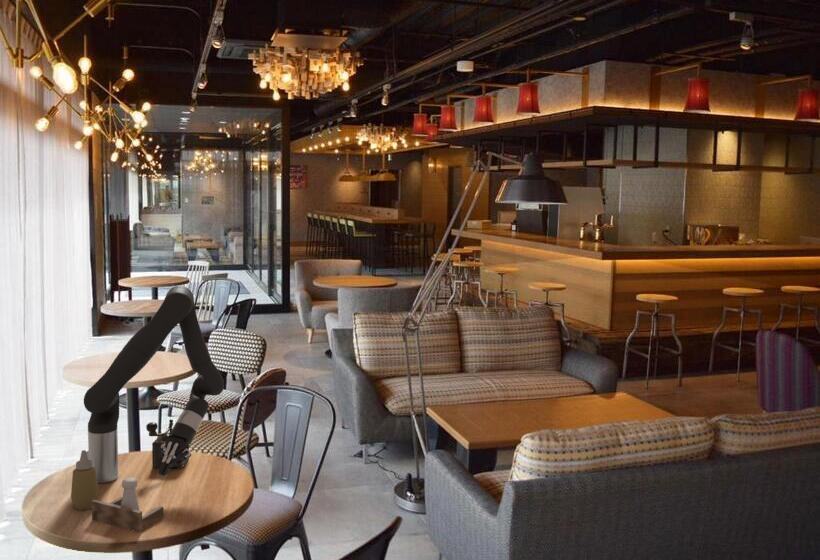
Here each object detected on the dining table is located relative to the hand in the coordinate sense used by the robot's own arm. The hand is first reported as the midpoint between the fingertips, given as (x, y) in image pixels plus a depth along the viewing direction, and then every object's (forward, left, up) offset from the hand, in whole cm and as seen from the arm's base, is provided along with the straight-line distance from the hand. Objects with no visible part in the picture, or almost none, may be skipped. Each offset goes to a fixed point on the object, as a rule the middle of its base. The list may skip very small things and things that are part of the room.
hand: (161, 475), depth 237 cm
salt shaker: (+1, -15, -8) cm, 18 cm away
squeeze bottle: (-18, -14, -8) cm, 24 cm away
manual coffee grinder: (-17, +23, -9) cm, 30 cm away
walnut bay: (0, -15, -8) cm, 17 cm away
